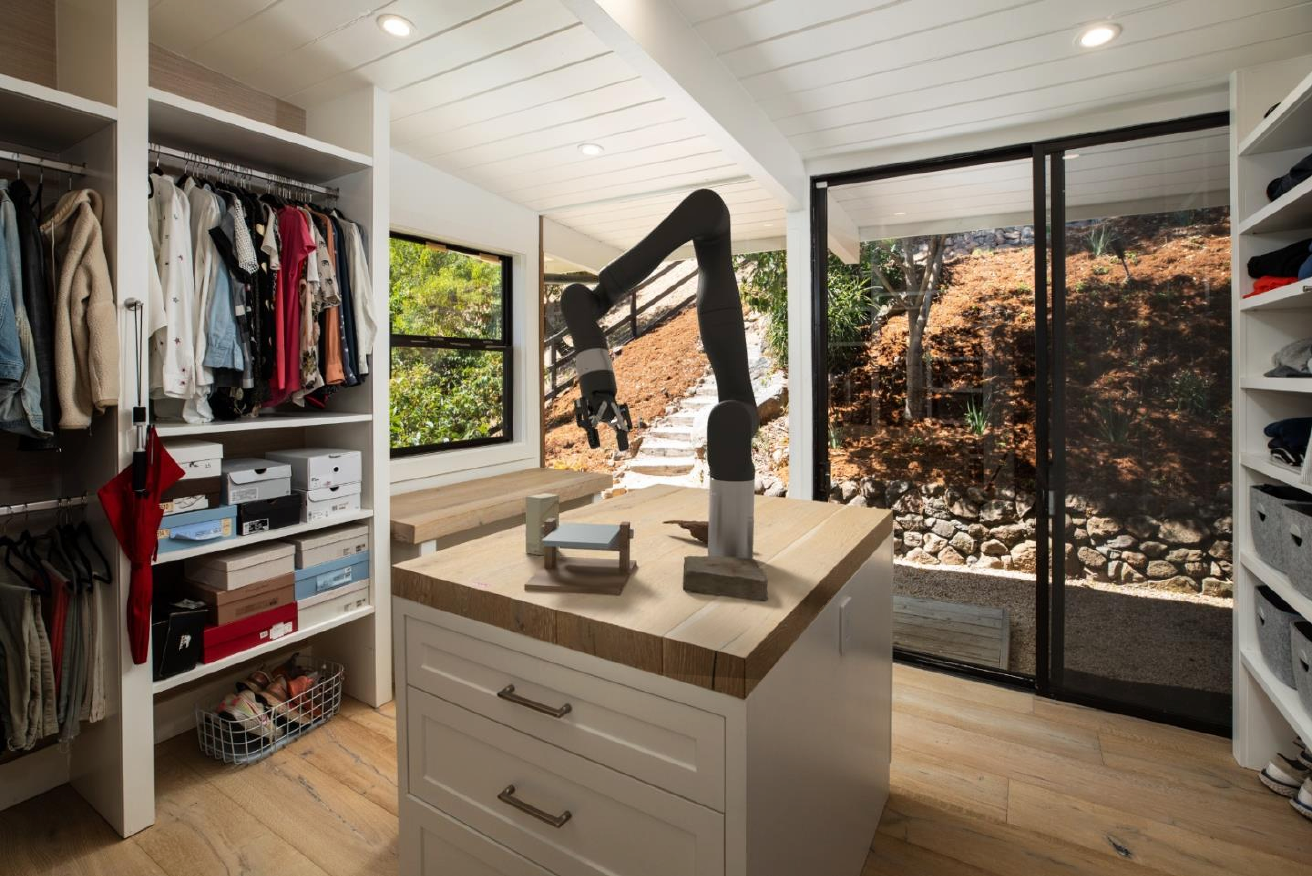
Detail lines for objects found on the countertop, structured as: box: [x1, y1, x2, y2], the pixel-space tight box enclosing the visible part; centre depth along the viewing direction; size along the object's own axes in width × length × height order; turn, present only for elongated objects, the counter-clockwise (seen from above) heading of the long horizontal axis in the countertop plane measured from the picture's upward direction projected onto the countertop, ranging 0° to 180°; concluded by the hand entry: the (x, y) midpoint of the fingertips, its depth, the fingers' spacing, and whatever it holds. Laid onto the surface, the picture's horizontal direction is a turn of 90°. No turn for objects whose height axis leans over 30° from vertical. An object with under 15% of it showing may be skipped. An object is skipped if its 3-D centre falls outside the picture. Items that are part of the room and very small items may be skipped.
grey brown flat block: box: [682, 555, 769, 602], centre depth 124 cm, size 17×15×4 cm
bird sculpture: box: [662, 519, 755, 544], centre depth 156 cm, size 7×25×5 cm, turn 54°
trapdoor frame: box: [523, 518, 638, 596], centre depth 127 cm, size 19×18×10 cm
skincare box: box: [525, 492, 560, 556], centre depth 145 cm, size 6×4×12 cm
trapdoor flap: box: [541, 522, 620, 552], centre depth 127 cm, size 15×12×4 cm
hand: (610, 449), depth 137 cm, fingers open, 8 cm apart
